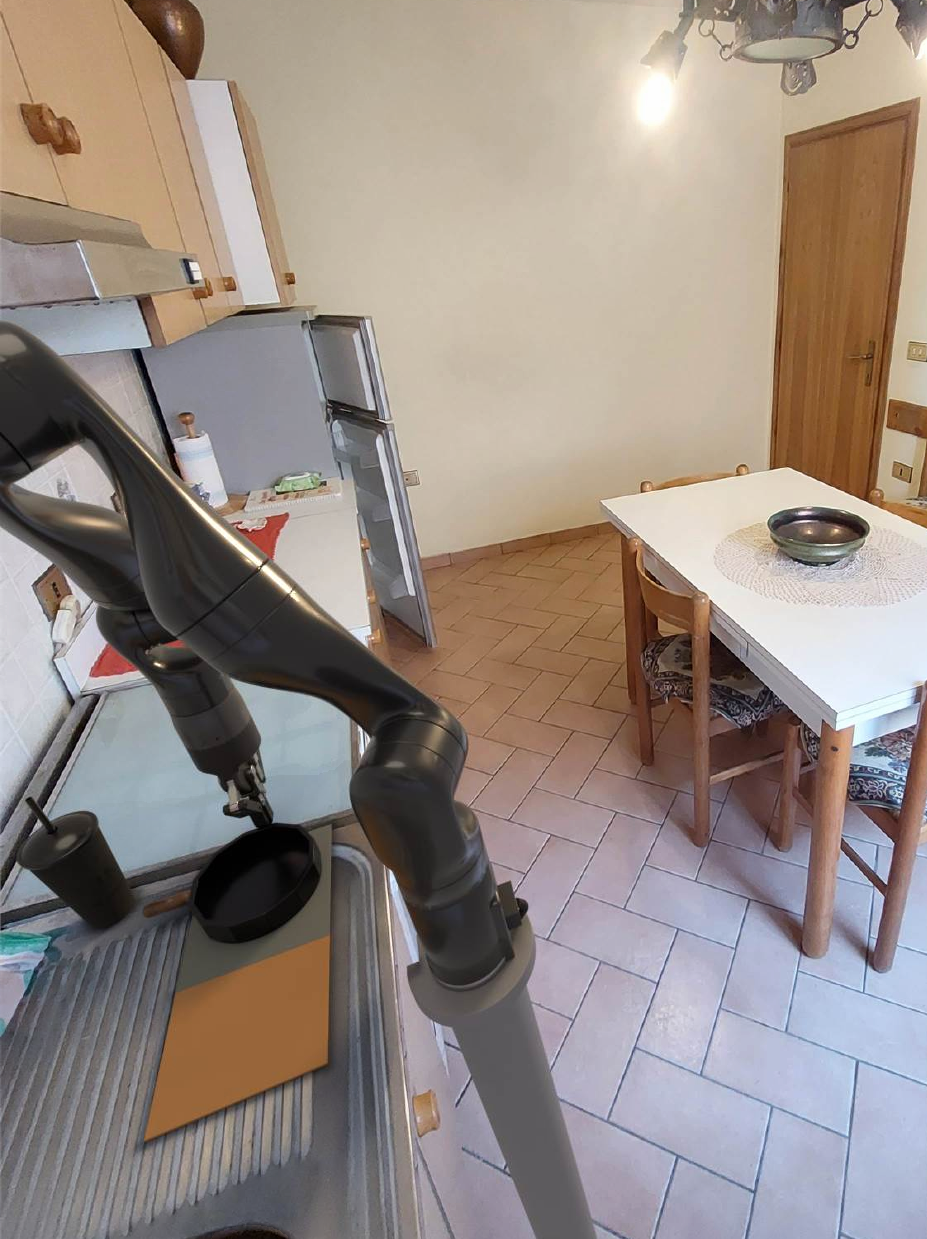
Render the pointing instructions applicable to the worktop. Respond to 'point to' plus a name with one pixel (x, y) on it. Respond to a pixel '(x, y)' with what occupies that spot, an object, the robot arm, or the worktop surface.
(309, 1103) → the worktop surface
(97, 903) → the drinking cup
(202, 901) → the skillet
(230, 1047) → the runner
